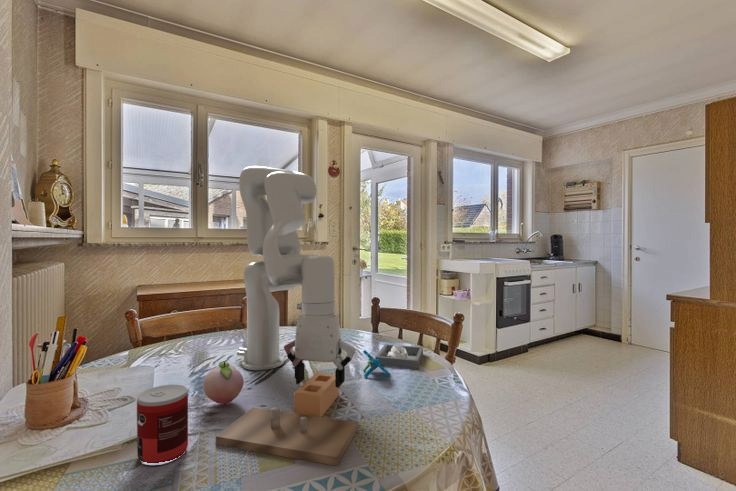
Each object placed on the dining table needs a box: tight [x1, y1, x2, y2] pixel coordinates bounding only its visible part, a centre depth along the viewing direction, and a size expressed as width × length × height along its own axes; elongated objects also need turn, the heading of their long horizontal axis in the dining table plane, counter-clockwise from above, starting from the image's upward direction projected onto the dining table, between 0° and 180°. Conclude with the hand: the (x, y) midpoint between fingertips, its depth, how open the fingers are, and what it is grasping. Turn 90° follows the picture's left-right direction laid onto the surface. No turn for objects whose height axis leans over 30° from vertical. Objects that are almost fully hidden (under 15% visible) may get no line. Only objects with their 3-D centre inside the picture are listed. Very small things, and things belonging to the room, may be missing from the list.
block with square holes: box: [293, 372, 340, 417], centre depth 83 cm, size 12×6×5 cm, turn 165°
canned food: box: [136, 384, 189, 463], centre depth 64 cm, size 8×8×11 cm
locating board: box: [215, 406, 359, 467], centre depth 69 cm, size 24×12×5 cm, turn 75°
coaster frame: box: [374, 343, 424, 370], centre depth 114 cm, size 13×14×2 cm
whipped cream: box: [386, 344, 409, 359], centre depth 115 cm, size 8×7×5 cm
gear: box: [362, 349, 392, 379], centre depth 100 cm, size 11×6×10 cm
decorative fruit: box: [202, 361, 245, 405], centre depth 83 cm, size 9×8×10 cm
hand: (319, 383), depth 82 cm, fingers open, 9 cm apart
